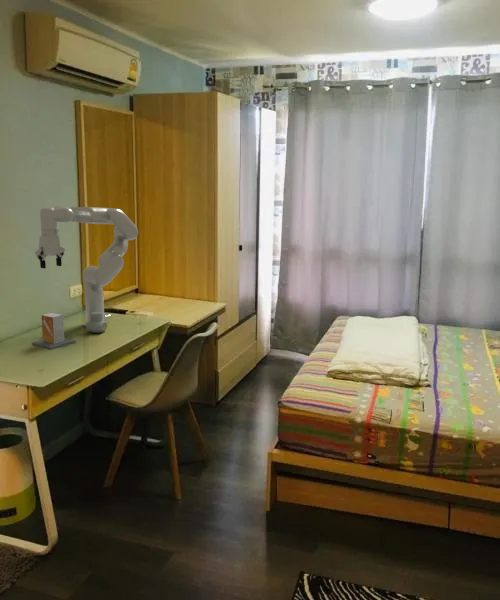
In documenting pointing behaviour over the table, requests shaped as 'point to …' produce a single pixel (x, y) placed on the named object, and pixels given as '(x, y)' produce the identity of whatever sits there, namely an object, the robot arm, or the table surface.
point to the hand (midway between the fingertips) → (51, 266)
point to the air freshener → (96, 323)
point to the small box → (52, 328)
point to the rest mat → (53, 346)
